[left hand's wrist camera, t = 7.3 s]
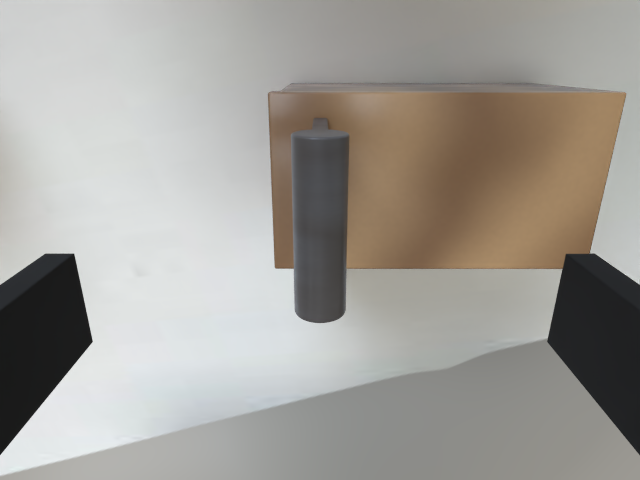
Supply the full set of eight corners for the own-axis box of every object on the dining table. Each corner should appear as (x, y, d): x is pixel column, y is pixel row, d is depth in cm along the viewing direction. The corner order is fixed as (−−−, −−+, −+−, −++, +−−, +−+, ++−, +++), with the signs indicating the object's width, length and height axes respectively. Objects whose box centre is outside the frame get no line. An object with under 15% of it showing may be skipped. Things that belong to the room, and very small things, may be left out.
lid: (276, 260, 26) (257, 345, 18) (270, 90, 23) (243, 105, 15) (575, 261, 26) (685, 346, 18) (613, 90, 23) (768, 105, 15)
